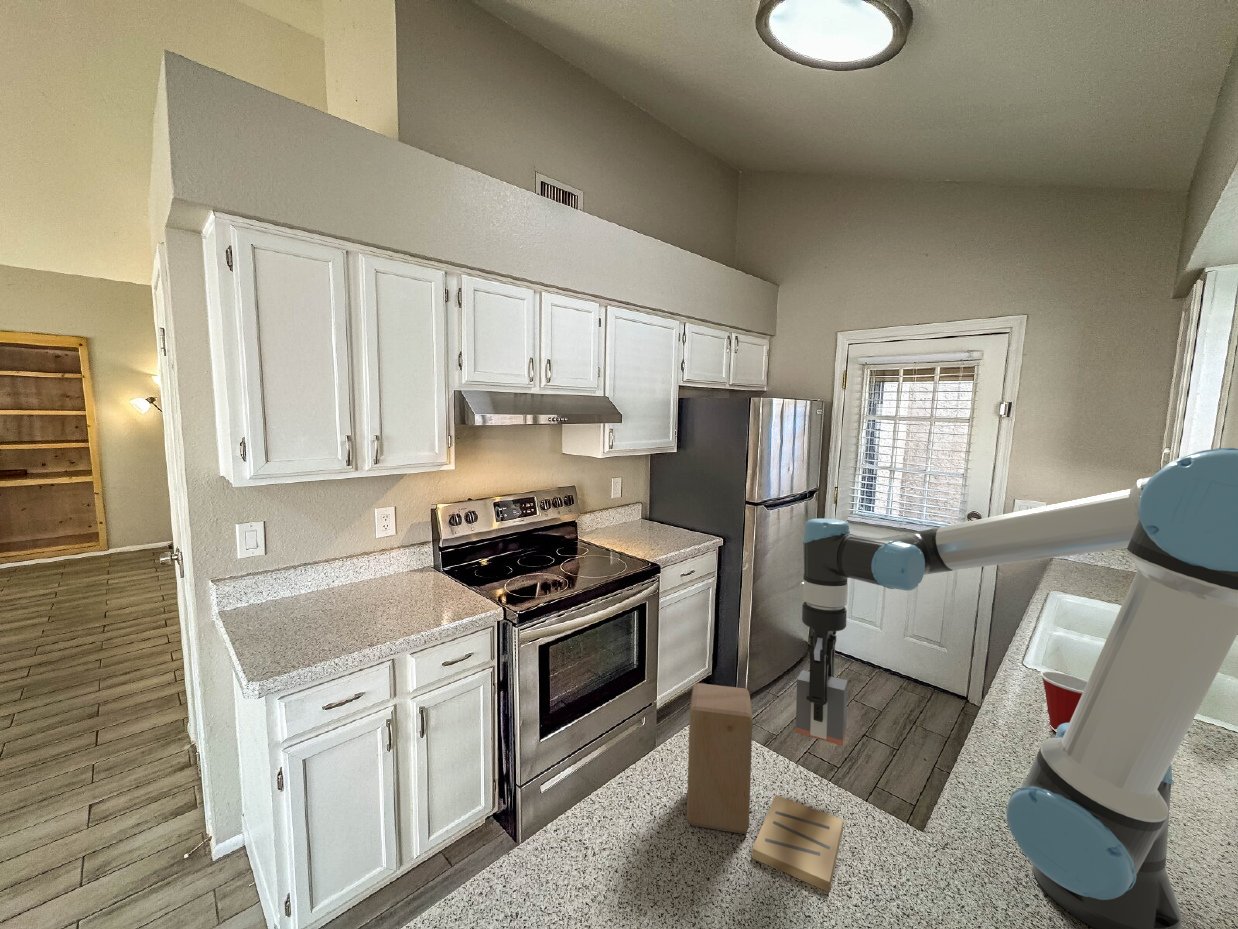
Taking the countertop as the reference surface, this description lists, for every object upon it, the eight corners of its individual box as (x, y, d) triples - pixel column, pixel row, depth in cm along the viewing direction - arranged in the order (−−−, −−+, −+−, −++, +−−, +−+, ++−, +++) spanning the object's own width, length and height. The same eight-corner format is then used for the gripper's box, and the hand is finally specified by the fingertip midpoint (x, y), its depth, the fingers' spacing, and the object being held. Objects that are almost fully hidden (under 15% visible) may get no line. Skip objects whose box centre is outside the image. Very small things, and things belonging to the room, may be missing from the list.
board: (842, 828, 84) (843, 819, 84) (829, 892, 72) (829, 882, 72) (775, 802, 89) (775, 794, 89) (752, 858, 77) (752, 848, 77)
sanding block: (846, 733, 93) (847, 680, 93) (842, 746, 90) (844, 690, 89) (800, 721, 98) (802, 670, 97) (795, 732, 94) (796, 679, 93)
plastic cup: (1114, 743, 110) (1118, 688, 109) (1079, 750, 107) (1082, 695, 106) (1058, 716, 120) (1061, 667, 119) (1025, 723, 117) (1028, 672, 116)
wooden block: (749, 838, 81) (753, 716, 80) (686, 827, 83) (689, 708, 82) (746, 795, 91) (749, 686, 90) (690, 787, 93) (692, 680, 92)
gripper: (811, 589, 102) (809, 703, 103) (792, 613, 87) (789, 746, 88) (852, 595, 98) (849, 713, 99) (839, 621, 83) (835, 761, 84)
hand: (821, 729), depth 93 cm, fingers closed on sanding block, 4 cm apart
